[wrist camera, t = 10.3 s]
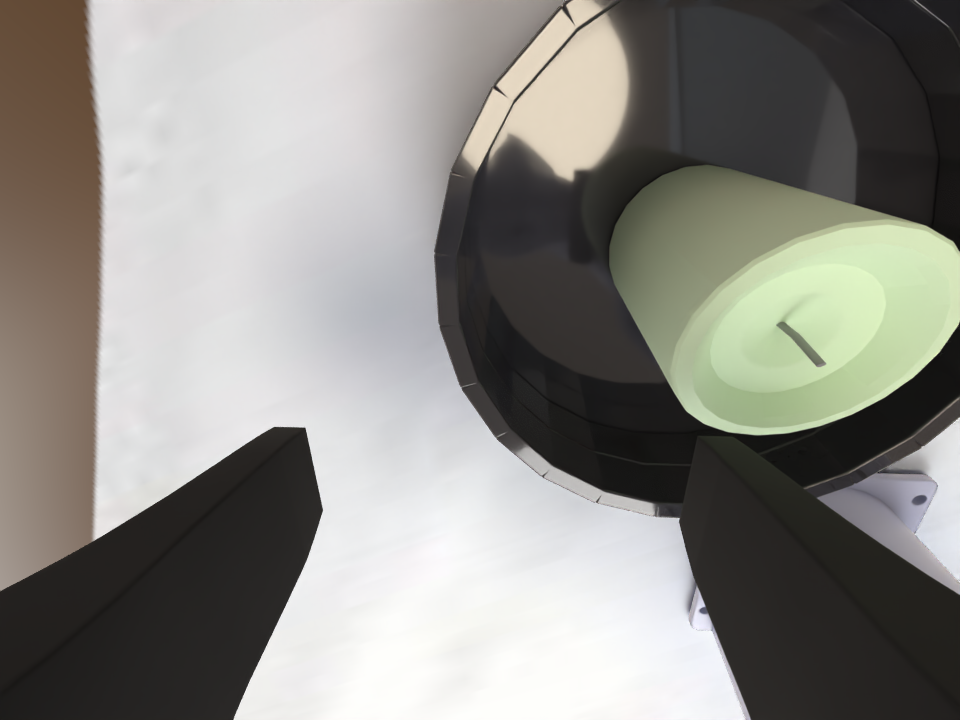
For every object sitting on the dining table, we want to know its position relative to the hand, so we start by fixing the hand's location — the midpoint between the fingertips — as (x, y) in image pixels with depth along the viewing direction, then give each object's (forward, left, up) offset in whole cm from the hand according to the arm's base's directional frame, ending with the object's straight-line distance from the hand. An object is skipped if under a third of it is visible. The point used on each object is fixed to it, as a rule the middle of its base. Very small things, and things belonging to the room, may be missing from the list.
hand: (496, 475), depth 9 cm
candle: (+2, -6, -9) cm, 11 cm away
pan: (+2, -6, -9) cm, 11 cm away
